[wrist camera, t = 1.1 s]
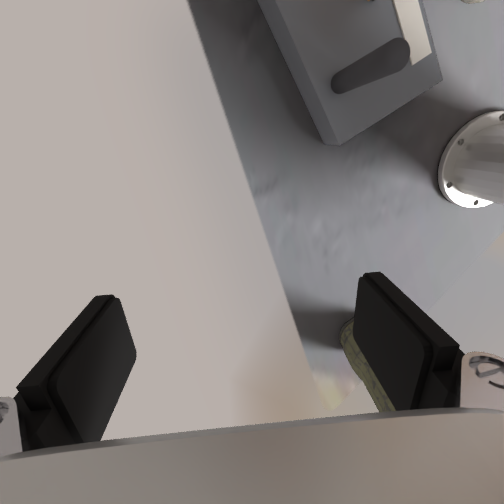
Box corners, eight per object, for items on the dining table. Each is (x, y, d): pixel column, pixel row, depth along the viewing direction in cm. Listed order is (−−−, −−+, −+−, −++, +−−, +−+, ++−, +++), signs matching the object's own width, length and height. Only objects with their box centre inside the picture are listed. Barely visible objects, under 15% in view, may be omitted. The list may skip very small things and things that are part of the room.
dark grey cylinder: (345, 66, 26) (405, 30, 17) (352, 86, 27) (413, 61, 18) (327, 79, 27) (377, 49, 18) (335, 98, 28) (387, 79, 18)
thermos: (348, 363, 51) (542, 745, 19) (329, 320, 46) (546, 727, 14) (392, 346, 50) (675, 720, 18) (377, 300, 45) (724, 691, 13)
